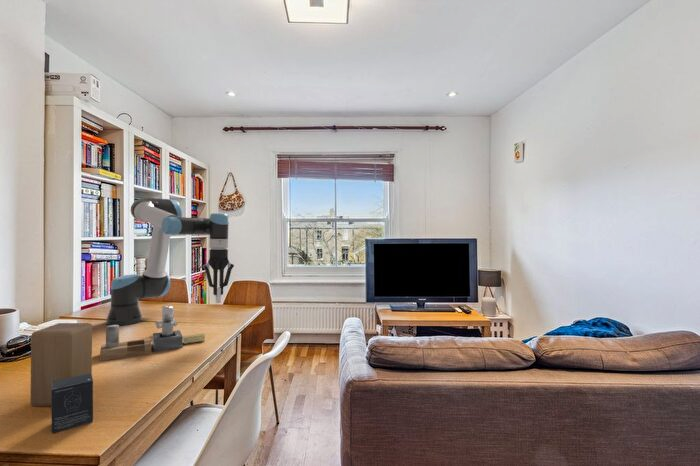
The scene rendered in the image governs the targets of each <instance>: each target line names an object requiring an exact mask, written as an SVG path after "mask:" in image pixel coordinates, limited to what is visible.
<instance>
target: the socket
mask: <svg viewBox="0 0 700 466" xmlns="http://www.w3.org/2000/svg"><path fill="white" fill-rule="evenodd" d="M183 336H184V335H183V333H181V330H179V329H178V330H173V336H170V337H163V338H162V331H160V332H154V333H152V348H153V353H154V352H155V353H156V352H162V351H167V350H168V351H169V350H174V349H182V348H183V344H184V343H183Z"/></svg>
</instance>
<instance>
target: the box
mask: <svg viewBox="0 0 700 466" xmlns="http://www.w3.org/2000/svg"><path fill="white" fill-rule="evenodd" d="M51 399H52V404H51V405H52V406H51V431H50V432H51V433H52V434H55V433H59V432H62V431H66V430H68V429H72V428H75V427H80V426H82V425H87V424H89V423H93V422H94V379H93V374H91V373H90V374H85V375H80V376H75V377H71V378H66V379H61V380H56V381H53V382H52V391H51Z"/></svg>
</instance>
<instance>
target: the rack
mask: <svg viewBox="0 0 700 466" xmlns="http://www.w3.org/2000/svg"><path fill="white" fill-rule="evenodd" d="M147 354H152V340H151V338H142V339H135V340H128V341H120V325H107V326H105V344H101V346H100V350H99V361H100V362H102V361H108V360H115V359H120V358H126V357H127V358H128V357H136V356H142V355H147Z"/></svg>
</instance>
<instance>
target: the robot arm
mask: <svg viewBox="0 0 700 466" xmlns="http://www.w3.org/2000/svg"><path fill="white" fill-rule="evenodd" d="M130 214H131V216H132V217H133V218H134V219H136V220H138V221H140V222H143V223H144V222H145V223H150V225H151V226H152V231H151V237H150V243H149V244H150V245H149V252H148V258H147V263H146V269H145V270H144V271H142V276H139V275H138V274H136V273H135V274H134V273H133V274H124V275H120V276H116V277H114V278H113V279H112V280H111V285H110V309H109V312H108V314H107V316H106V320H105V321H106V323H105V324H106V325H107V326H110V325H119V326H126V325H133V324H137V323H139V322H141V321H142V320H143V316H142V311H141V309H140V307H139V300H142V299H150V298H151V299H152V298H158V297H163V296H165V295H167V294H168V292H169V291H170V290H171V289H170V288H171V278H170V276H169V274H168V272H167V271H166V265H167V259H168V253H169V246H170V240H171V236H178V235H179V236H185V235H187V236H188V235H189V236H190V235H191V236H209V248H210V249H209V257H208V258H209V259H208V261H207V263H206V264H202V267H203V269H204V271H205V274H206V278H207V279H206V280H207V284H208V286H209V288H210V287H211V288H212V289H213V293H212V294H213V295H214V296H215V303H216V304H221V303H222V302H221V299H222V298H221V296H223V294H224V287H227V286H228V285H229V281H230V277H231V273H232V270H233V268H234V266H235V265H234V263H231V262H230V260H229V258H228V257H229V255H228V254H229V250H228V249H227V248H229V215H228V214H227V213H220V212H219V213H217V212H214V213H210V215H209V218H208V217H207V218H205V217H186V216H185V217H184V216H183V210H182V207H181V204H180V203H179V201H177V200H175V199H169V198H158V197H157V198H155V197H153V198H152V197H141V198H139V199H137V200H135V201H134V202H132V204H131V205H130ZM226 267H227V269H226ZM210 268H211V269H212V270H213V271H212V273H213V279H212V276H211V271H210ZM225 269H226V273H225ZM218 272H219V275H218ZM224 273H225V275H224ZM218 276H219V279H218ZM212 280H213V281H212ZM218 280H219V281H218ZM218 282H219V284H218ZM218 285H219V286H218Z"/></svg>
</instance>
